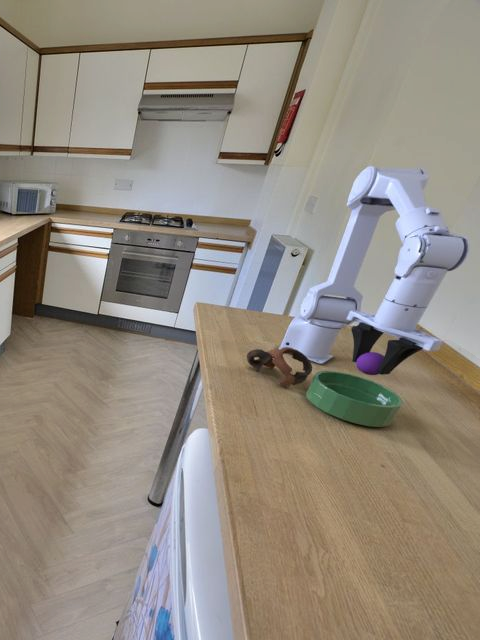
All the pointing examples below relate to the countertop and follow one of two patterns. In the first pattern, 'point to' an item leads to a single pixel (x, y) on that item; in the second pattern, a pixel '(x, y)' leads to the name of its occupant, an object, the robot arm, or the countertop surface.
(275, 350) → the brown curved loop
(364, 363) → the ball
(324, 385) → the bowl
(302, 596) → the countertop surface
